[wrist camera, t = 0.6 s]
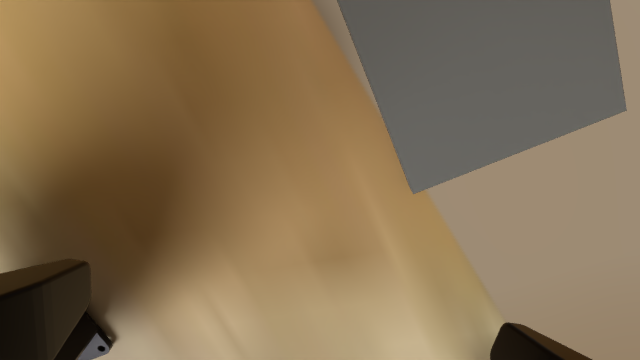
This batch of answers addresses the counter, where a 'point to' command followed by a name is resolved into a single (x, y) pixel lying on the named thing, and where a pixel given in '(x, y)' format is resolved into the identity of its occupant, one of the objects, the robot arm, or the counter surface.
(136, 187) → the counter surface
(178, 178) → the counter surface
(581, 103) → the gray panel
